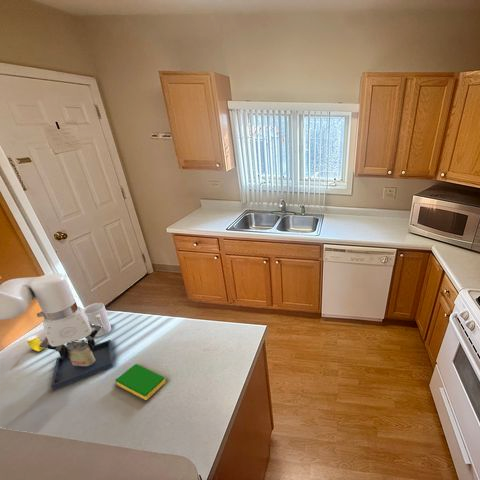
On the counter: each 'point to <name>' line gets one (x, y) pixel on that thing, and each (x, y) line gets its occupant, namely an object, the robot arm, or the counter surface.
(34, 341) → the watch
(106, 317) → the mug
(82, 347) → the lighter
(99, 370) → the tray
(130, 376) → the dish sponge
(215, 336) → the counter surface
